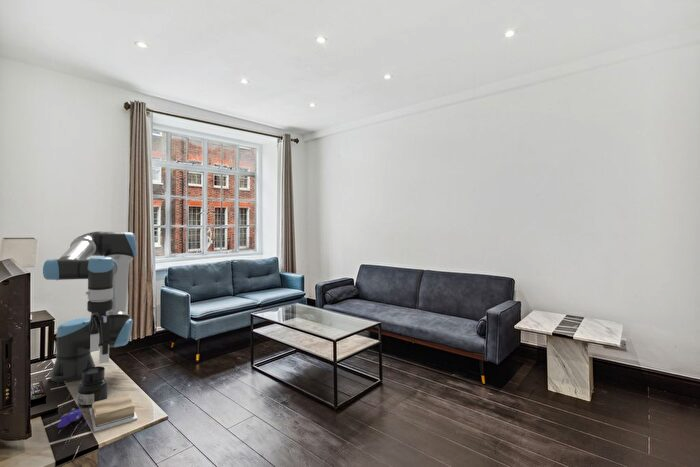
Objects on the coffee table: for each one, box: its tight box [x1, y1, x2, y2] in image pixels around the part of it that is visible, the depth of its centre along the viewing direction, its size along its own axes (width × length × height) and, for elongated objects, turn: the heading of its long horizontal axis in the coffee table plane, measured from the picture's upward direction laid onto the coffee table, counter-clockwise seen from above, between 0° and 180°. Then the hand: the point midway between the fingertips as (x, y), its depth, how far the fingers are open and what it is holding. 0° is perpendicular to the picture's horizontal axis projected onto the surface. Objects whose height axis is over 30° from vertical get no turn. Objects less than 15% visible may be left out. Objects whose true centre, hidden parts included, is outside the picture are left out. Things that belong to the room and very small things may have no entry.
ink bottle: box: [77, 365, 109, 408], centre depth 129 cm, size 10×9×12 cm
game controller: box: [49, 407, 91, 434], centre depth 113 cm, size 10×8×10 cm
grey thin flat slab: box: [88, 407, 138, 432], centre depth 122 cm, size 16×12×1 cm
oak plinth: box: [91, 393, 135, 426], centre depth 122 cm, size 11×11×3 cm
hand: (99, 356), depth 129 cm, fingers open, 13 cm apart
